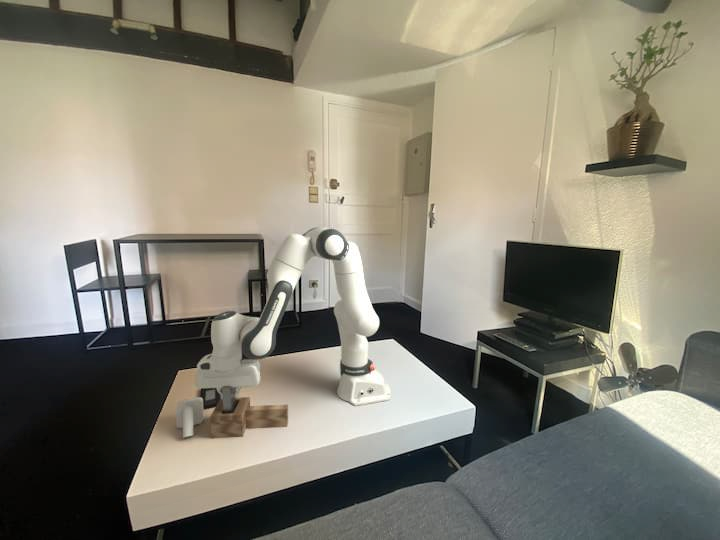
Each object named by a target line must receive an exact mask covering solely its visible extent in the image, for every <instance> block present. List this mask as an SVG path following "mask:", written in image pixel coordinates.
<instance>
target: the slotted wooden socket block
mask: <svg viewBox="0 0 720 540" xmlns="http://www.w3.org/2000/svg"><path fill="white" fill-rule="evenodd" d="M209 421H210V422H209V423H210V434H211V436H210V437H211V439H224V438H225V439H226V438H227V439H228V438H242V437H244V435H245V433H246V430H249V429H266V428H267V429H268V428H269V429H271V428H287V427H288V424H289V404H288V403H287V404H269V405H267V404H265V405H251V398H250V396H245V397H243V396H241V397H239V396H238V398H237V406H236V408H235V410H234V412H233V413H227V414H224V411H223V399H220V401H219V402H218V404H217V406H216V407H214V410H213V411H212V412H211V414H210V416H209Z"/></svg>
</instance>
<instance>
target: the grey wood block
mask: <svg viewBox="0 0 720 540" xmlns="http://www.w3.org/2000/svg"><path fill="white" fill-rule="evenodd" d="M234 391H237V390H236V387H231V386H223V388H222V396H223V411H224V414H227V413H233V412H234V410H235V408H236V406H237V398H233V393H234Z"/></svg>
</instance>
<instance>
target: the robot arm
mask: <svg viewBox="0 0 720 540" xmlns="http://www.w3.org/2000/svg"><path fill="white" fill-rule="evenodd" d="M314 257H317V258H320V259H325V260H327V261H328V260H329V261H331V262H332V264H333V272H334V277H335V278H334V279H335V285H336V289H337V290H336V291H337V293H338V295H339V296H340V299H339V300H337V301H336V303H335V304H334V306H333V314H334V316H335V319H336V322H337V328H338V332H339V333H338V334H339V337H340V338H339V339H340V346H341V347H340V352H341V354H340V361H339V362H340V363H339V376H340V377H339V383H338V387H337V391H336V394H337V396H338V397H339V398H340V399H342V400H343V401H346V402H348V403H350V404H351V405H353V406H355V407H356V406H363V405H368V404H373V403H379V402H381V403H382V402H385V401H389V400H390V399H391V396H392V392H391V388H390V386H389V384H388V383H387V382H386V380H385V378H384V375H383V374H382V373H381V372H380V371H378V370H377V369H376V366H375V365H374V363H373V361H372V359H371V358H369V342H368V339H367V338H368V337H371V336H373V335H374V334H376V332H377V331H378V329H379V328H380V317H379V316H378V314H377V313H376V311H375V309H374V307H373V304H372V302H371V299H370V295H369V293H368V291H367V286H366V281H365V276H364V275H365V274H364V268H363V262H362V257H361V253H360V251H359V247H358V245H357V244H356V243H355V242H352V241H349V240H347V239H346V237H345V236H344V235H343V234H342V233H341V232H340V231H339V230H338V229H334V228H329V227H325V226H323V227H314V228H310V229H309V230H307V231H306V232H305V233H303V234H300V233H291V234H288V235H287V236H286V237H285V238H284V240H283V241H282V242H281V244H280V245H279V247H278V249H277V250H276V252H275V253H274V256H273V257H272V260H271V262H270V264H269V267H268V270H267V274H266V279H267V280H266V281H267V286H268V296H267V300H266V303H265V306H264V307H263V309H262V312H261V314H260V317H258V316H247V315H244V314H241V313H238V312H237V311H235V310H227V311H223V312H221V313H219V314H217V315H215V316H214V317H213V319H212V322H211V326H210V327H211V328H210V339H211V341H210V342H211V344H212V348H213V349H212V353H210V354H206V355H205V356H203V357H202V358H201V359H200V360H199V361H198V363H197V365H196V368H197V370H196V372H195V386H196V388H198V389H201V388H217V391H218V393H219V394H220V395H221V399H223V396H222V388H223V386H231V387H236V391H234V393H233V398H239V394H240V390H241V388H250V387H251V388H252V387H253V388H254V387H258V385H259V384H260V382H261V374H260V370H261V364H260V363H261V362H260V361H259V360H263V359H265V358H267V357H268V356H270V355H271V354H272V353H273V352H274V350H275V347H276V345H277V332H278V329H279V326H280V324H281V321H282V318H283V316H284V314H285V312H286V310H287V307H288V305H289V302H290V299H291V296H292V294H293V292H294V290H295V288H296V286H297V284H298V282H299V280H300V278H301V276H302V274H303V272H304V270H305V268H306V266H307V264H308V262H309V261H310V260H311V259H312V258H314ZM243 355H244V357H245V359H243ZM247 358H248V359H247Z"/></svg>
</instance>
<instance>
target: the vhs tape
mask: <svg viewBox="0 0 720 540" xmlns="http://www.w3.org/2000/svg"><path fill="white" fill-rule="evenodd" d="M199 391H200V392H199V397H201V398H202V399H203V409H204V411H205V410H208V409H213V408H214V409H215V407H216V406H217V404H218V402H219V401H220V399H221V395H220V394H219V393H218V391H217V388H200V390H199Z"/></svg>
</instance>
